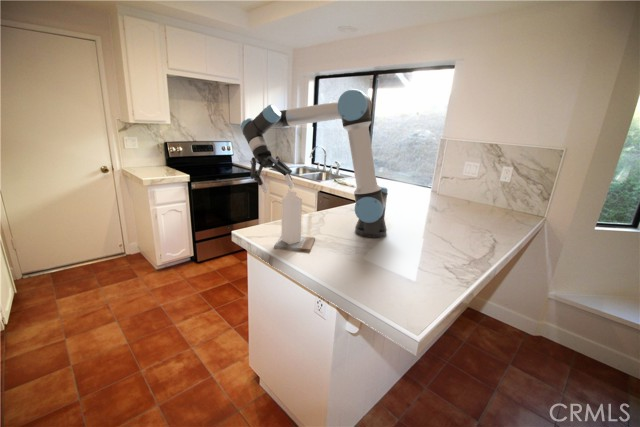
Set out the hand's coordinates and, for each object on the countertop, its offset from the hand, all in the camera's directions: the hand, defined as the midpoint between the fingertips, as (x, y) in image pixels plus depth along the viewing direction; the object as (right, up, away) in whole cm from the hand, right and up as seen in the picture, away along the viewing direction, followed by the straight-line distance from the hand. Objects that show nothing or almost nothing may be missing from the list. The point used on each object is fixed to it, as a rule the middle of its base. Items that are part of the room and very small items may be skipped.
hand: (279, 189), depth 129 cm
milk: (+5, -22, +1) cm, 23 cm away
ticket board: (+7, -23, +1) cm, 24 cm away
